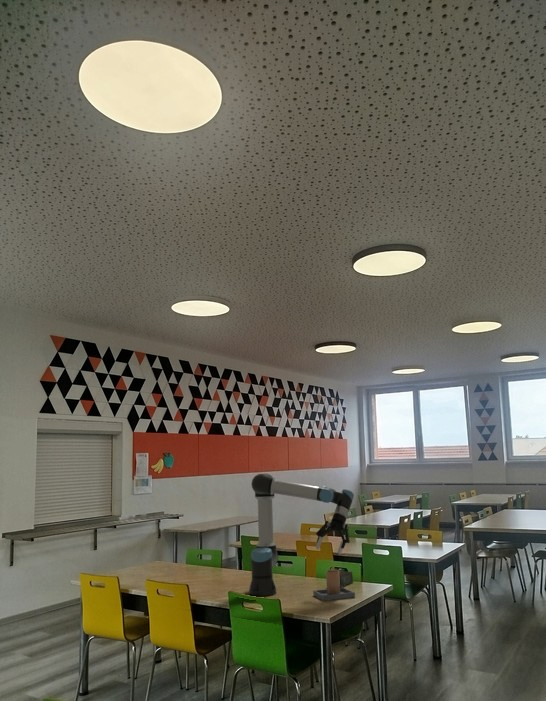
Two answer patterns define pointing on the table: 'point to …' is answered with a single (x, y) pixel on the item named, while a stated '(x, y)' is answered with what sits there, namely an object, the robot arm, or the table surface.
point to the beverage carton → (345, 578)
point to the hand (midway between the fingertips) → (327, 551)
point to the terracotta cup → (333, 582)
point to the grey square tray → (323, 594)
